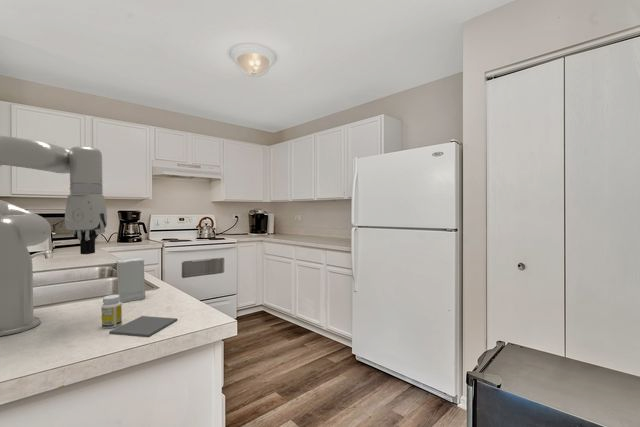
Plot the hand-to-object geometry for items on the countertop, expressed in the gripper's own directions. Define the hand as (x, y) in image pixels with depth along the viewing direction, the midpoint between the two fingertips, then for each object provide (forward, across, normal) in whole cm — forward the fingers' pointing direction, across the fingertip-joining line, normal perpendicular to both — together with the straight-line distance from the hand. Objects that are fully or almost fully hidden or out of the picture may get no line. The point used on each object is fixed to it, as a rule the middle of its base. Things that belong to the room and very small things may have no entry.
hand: (87, 253), depth 90 cm
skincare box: (+21, -6, +23) cm, 32 cm away
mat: (+21, +18, +1) cm, 27 cm away
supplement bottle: (+21, +8, 0) cm, 22 cm away
